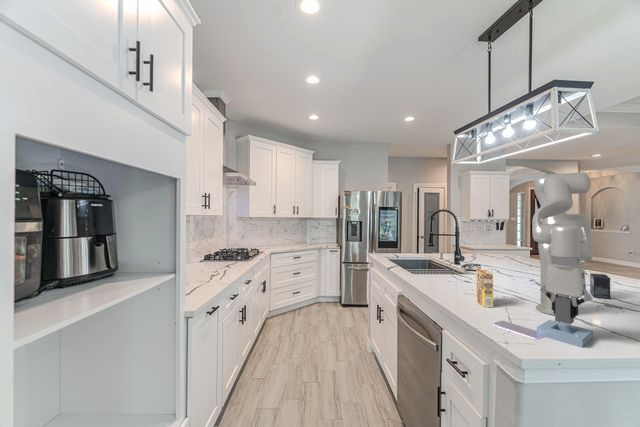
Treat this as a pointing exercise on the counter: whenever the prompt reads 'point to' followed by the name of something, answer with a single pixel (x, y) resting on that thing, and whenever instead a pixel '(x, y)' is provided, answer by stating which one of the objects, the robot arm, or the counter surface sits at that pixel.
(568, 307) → the block
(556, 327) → the blue square socket base
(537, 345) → the counter surface
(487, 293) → the candy box
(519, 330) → the mobile phone
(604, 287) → the small box
